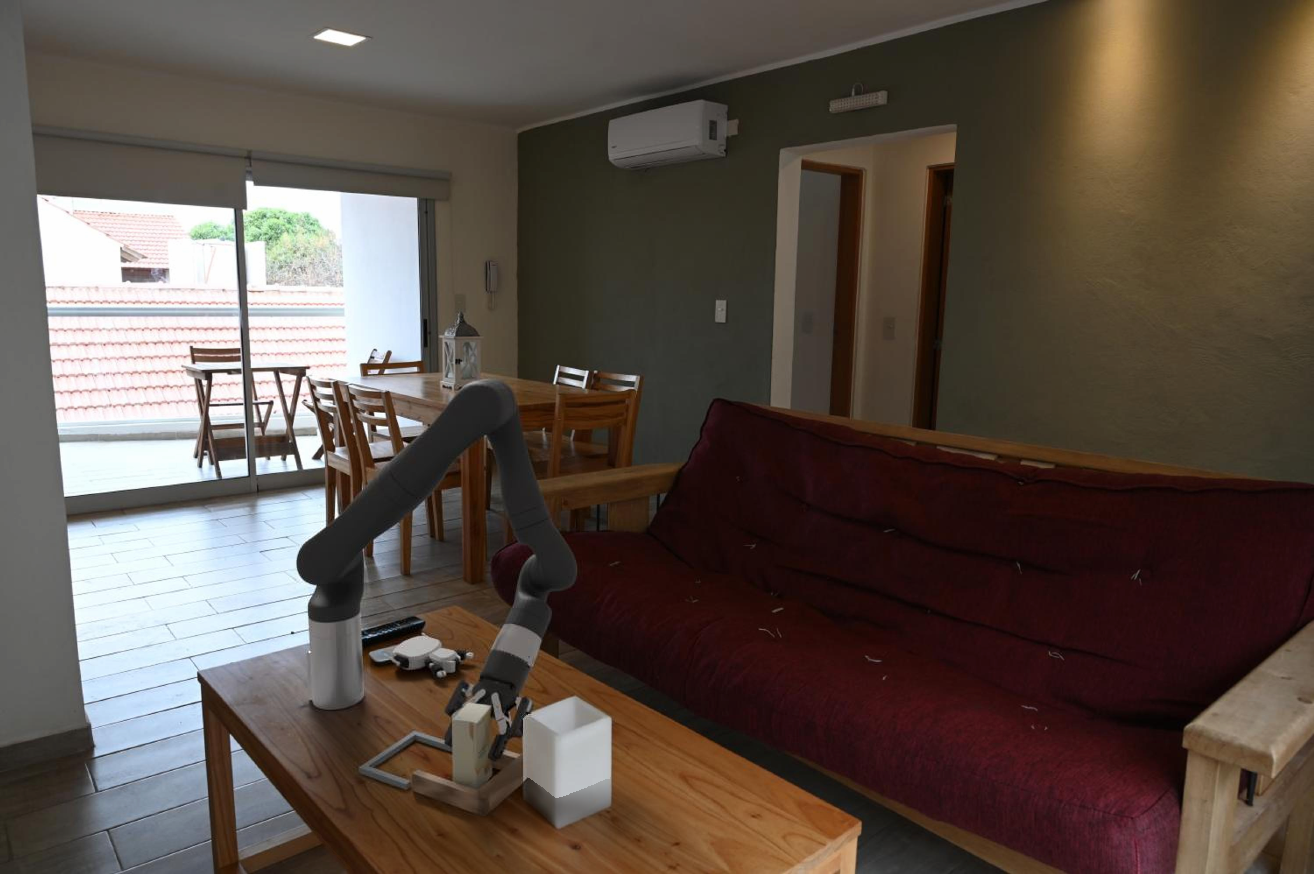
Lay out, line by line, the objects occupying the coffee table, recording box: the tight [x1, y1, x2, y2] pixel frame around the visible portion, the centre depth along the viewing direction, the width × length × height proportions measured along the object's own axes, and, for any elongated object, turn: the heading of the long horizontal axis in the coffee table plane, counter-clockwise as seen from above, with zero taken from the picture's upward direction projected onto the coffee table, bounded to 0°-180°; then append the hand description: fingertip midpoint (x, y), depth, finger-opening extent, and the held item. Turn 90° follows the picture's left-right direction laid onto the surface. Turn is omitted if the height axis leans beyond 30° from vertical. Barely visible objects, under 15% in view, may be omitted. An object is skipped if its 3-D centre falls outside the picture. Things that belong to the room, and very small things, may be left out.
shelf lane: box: [411, 749, 524, 817], centre depth 134 cm, size 14×12×4 cm
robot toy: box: [383, 632, 475, 678], centre depth 174 cm, size 12×4×15 cm
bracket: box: [358, 730, 452, 791], centre depth 140 cm, size 10×13×1 cm
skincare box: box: [451, 703, 493, 790], centre depth 133 cm, size 6×4×12 cm
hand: (469, 752), depth 132 cm, fingers open, 8 cm apart
